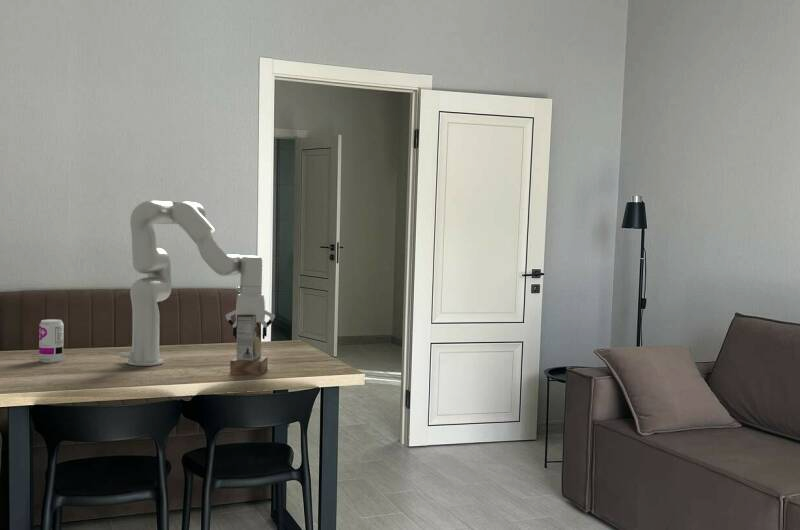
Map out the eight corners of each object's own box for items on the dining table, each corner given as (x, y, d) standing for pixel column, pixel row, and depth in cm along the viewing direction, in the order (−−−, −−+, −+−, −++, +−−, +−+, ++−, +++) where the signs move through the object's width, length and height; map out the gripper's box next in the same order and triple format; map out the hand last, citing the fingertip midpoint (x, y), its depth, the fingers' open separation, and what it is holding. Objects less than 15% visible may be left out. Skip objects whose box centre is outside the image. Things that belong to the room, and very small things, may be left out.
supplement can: (42, 363, 292) (43, 322, 291) (36, 360, 298) (36, 319, 297) (66, 361, 297) (66, 321, 296) (59, 358, 303) (59, 318, 303)
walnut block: (230, 374, 285) (230, 360, 285) (237, 369, 296) (237, 355, 296) (261, 375, 284) (261, 361, 284) (267, 370, 295) (267, 356, 295)
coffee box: (244, 356, 295) (244, 312, 294) (261, 356, 294) (261, 312, 293) (235, 360, 286) (236, 314, 285) (253, 361, 285) (254, 315, 284)
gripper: (225, 291, 284) (224, 339, 284) (275, 291, 286) (274, 340, 287) (226, 289, 291) (225, 336, 292) (275, 290, 294) (274, 337, 295)
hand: (249, 338), depth 289 cm, fingers open, 9 cm apart
